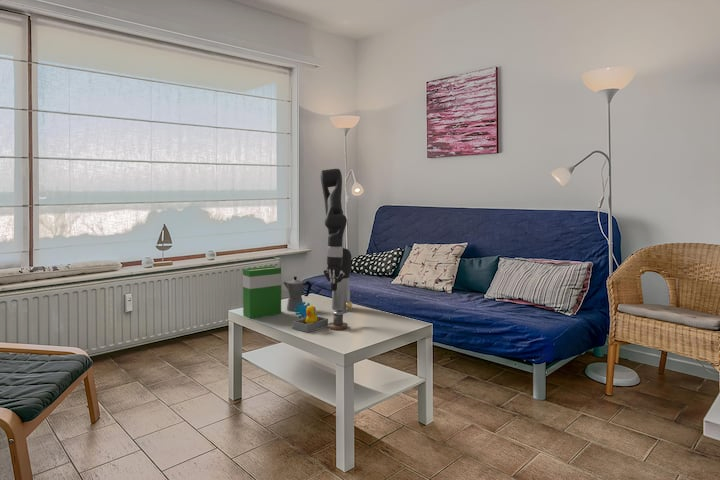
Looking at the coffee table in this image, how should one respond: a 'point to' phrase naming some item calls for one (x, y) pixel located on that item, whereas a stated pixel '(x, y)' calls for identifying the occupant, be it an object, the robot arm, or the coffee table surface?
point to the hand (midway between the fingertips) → (333, 290)
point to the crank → (348, 309)
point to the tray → (305, 327)
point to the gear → (301, 309)
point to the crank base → (337, 323)
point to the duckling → (311, 314)
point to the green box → (261, 291)
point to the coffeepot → (296, 293)
